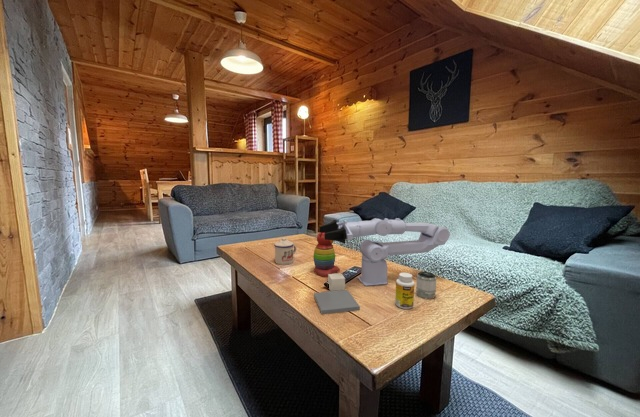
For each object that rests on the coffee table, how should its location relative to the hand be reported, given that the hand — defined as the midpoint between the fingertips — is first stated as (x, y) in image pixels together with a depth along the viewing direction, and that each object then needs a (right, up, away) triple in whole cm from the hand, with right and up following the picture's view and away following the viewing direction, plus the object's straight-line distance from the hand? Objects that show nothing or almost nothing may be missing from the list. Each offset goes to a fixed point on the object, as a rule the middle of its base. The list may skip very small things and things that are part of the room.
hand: (321, 232), depth 95 cm
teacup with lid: (-17, -17, +31) cm, 39 cm away
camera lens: (+36, -21, -5) cm, 42 cm away
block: (+5, -21, 0) cm, 21 cm away
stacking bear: (+1, -18, +18) cm, 26 cm away
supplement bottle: (+26, -22, -12) cm, 36 cm away
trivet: (+4, -22, -10) cm, 24 cm away
